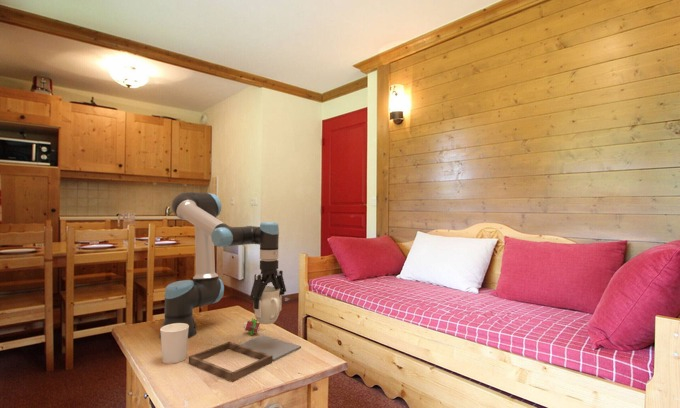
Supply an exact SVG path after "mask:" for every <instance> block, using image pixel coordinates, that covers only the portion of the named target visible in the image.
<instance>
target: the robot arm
mask: <svg viewBox="0 0 680 408" xmlns="http://www.w3.org/2000/svg"><path fill="white" fill-rule="evenodd" d="M170 205H171V206H170V207H171V211H172V213H173V214H174V215H175V217H177V218H179V219H181V220H183V221H187V222H189V223H190V224H192V225H193V226H194V241H195V242H194V247H195V250H194V251H195V275H194V276H193V277H192V280H191V279H184V280H178V281H174V282H171V283H169V284H167V286H165V291H164V294H163V295H164V296H163V297H164V319H163V322H162V325H161V327H160V329H161V328H162V327H163V326H166V325H169V324H175V323H184V324H188V325H189V329H188V339H189V338H191V337H194V336H195V335H196V334H197V330H198V329H197V325H196V321H195V319H194V309H196V308H199V307H204V306H208V305H212V304H215V303H218V302H219V301H220V300H221V299H222V298H223V297H224V292H225V286H224V283H223V280H222V279H220V278H219V274H218V273H216V267H215V266H216V264H215V263H216V262H215V260H216V259H215V258H216V257H215V247H218V248H221V247H223V248H226V247H233V246H234V247H235V246H243V245H244V246H245V245H246V246H247V245H259V259H260V261H259V270H260V273H259V274H254V276H253V277H254V280H253V285H252V287H251V291H250V296H249V300H251V301H253V304H254V309H255V314H254V317H255V318H256V317H259V318H260V317H261V301H260V298H261V296H262V293H263V291H264V289H265V286H268V285H269V284H270V283H271V284H272V287H274V288H275V289H280V292H279V297H280V302H281V306H280V312H281V311H282V302H283V296H284V295H285V293H286V292H287V288H286V285H285V279H284V276H283V275H284V273H283V270H280V269H279V260H278V259H279V241H280V240H279V235H280V229H279V223H278V222H275V221H274V222H272V221H270V222H269V221H267V222H265V221H262V222H260V224H259V226H253V225H245V226H230V225H229V224H227V223H225V222H223V221H222V220H220V219H218V218H217V217H218V216H219V215H220V214H221V212H222V203H221V200H220V198H219V197H218V196H217V194H214V193H212V192H211V193H208V192H193V191H192V192H191V191H190V192H189V191H183V192H181V193H179V194H177V195H175V196H174V198H173V199H172V201H171V204H170ZM254 309H253V310H254ZM159 339H161V331H160V330H159Z"/></svg>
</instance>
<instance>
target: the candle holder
mask: <svg viewBox="0 0 680 408" xmlns="http://www.w3.org/2000/svg"><path fill="white" fill-rule="evenodd" d="M161 327H162V326H161ZM161 327H160V329H159V332H160V331H161V338H160V347H161V348H160V349H161V361H162V362H163V363H164V364H166V365H167V364H168V365H170V364H177V363H180V362H182V361H185V360H186V359H187V355H188V354H187V353H188V352H187V351H188V343H189V342H188V341H189V338H188V329H189V325H188V324H184V323H175V324H169V325H166V326H163V327H162V328H161Z"/></svg>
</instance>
